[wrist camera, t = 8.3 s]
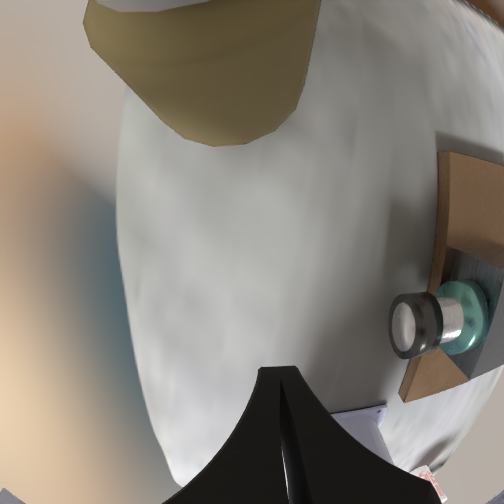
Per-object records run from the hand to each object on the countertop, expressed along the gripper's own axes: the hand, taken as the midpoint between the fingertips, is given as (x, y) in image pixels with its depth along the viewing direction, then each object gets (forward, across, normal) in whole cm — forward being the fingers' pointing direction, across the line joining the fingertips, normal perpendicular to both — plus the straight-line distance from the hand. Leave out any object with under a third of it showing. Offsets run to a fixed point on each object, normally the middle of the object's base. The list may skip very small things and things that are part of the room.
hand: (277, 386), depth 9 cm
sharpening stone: (+9, -18, +1) cm, 20 cm away
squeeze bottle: (+10, +2, -13) cm, 16 cm away
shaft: (+7, -15, +1) cm, 17 cm away
